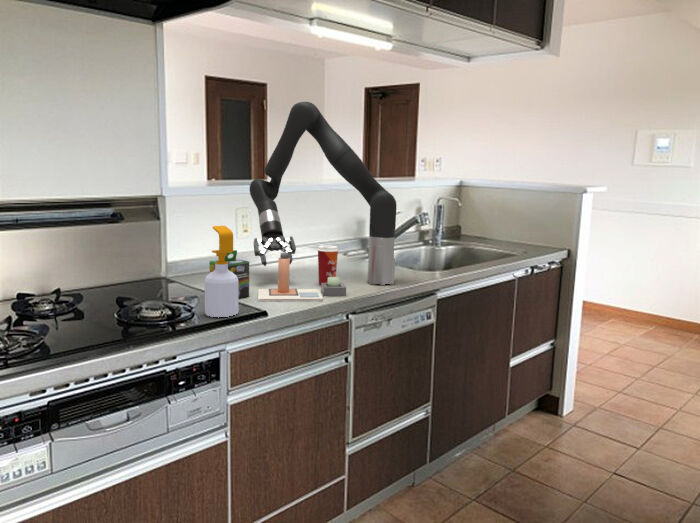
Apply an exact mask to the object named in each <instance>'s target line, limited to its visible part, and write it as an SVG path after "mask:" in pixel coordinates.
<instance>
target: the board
mask: <svg viewBox="0 0 700 523" xmlns="http://www.w3.org/2000/svg"><path fill="white" fill-rule="evenodd" d="M257 298H258V299H257V300H258V302H323V301H324V298H323V295H322V292H321V290H320V289H319V288H289V292H288V293H279V292H278V288H259V289H258V294H257Z"/></svg>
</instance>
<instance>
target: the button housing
mask: <svg viewBox="0 0 700 523" xmlns="http://www.w3.org/2000/svg"><path fill="white" fill-rule="evenodd" d="M320 293H321V295H322V294H323V295H322V297H323V296H346V297H347V287H346V284H345V283H344V282H340V287H328V283H321V286H320Z"/></svg>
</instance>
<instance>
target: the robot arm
mask: <svg viewBox="0 0 700 523" xmlns="http://www.w3.org/2000/svg"><path fill="white" fill-rule="evenodd" d="M328 122H329V121H327V120H326V118H325V117H324V116H323V114H322V112H321V111H320V109H319V108H318V107H317V106H316V105H315V103H312V102H310V101H300V102H297V103H295V104H293V106H292V107H291V108H290V111H289V114H288V117H287V120H286V124H285V127H284V129H283V131H282V133H281V136H280V139H279V140H278V143H277V144H276V147H275V148H274V150H273V152H272V154H271V156H270V157H269V159H268V161H267V163H266V165H265V168H264V170H263V172H264V174H265V175H266V176H267V177H268V178H270V181H268V180H264V179H262V178H254V179H253V180H252V181H251V182H250V184H249V195H250V197H251V199H252V201H253V203H254V205H255V207H256V209H257V214H258V222H259V230H260V235H261V239H258V238H257V237H255V238H254V239H253V251H254V253H253V254H254V256H255V257H260V261H261V264H262V265H263V266H264V267H266V266H267V262H268V261H267V256H266V254H267V253H268V252H273V251H274V252H275V251H277V252H278V251H281V253H288V258H290V265H292V263H293V260H294V259H293V255H295V254H296V250H297V246H296V243H295V240H294V238H293V236H289V237H287V238H286V237H285V236H284V232H283V227H282V222H281V218H280V215H279V211H278V207H277V203H276V202H275V199H277V197H278V196H279V193H280V192H279V191H280V187H281V183H282V178H283V176H284V174H285V172H286V170H287V169H288V168H289V166H290V163H291V161H292V159H293V155H294V152H295V149H296V147H297V145H298V143H299V141H300V139H301V138H302V136H303V135H304V134H305V132H307V133H308V134H309V135H310V136H311V137H312V138H313V139H314V140H315V141H316V142H317V144H318V145H319V147H320V148H321V150H322V152H323V154H324V157H325V158H326V159H327V161H328V162H329V164H330V165H331V166H332V168H333V169H334V170H335V171H336V172H337V173H338V175H340V176H341V177H342V178H343V179H344V180H345V181H346V182H347V183H348V184H350V185H351V186H352V187H354V188H355V189H356V190H357V191H358V192H359V193H360V195H361V196H362V197H363V199H364V200H365V201H366V203H367V204H368V206H369V208H370V209H369V228H368V230H369V235H368V236H369V237H368V256H367V258H368V259H367V263H368V264H367V283H368V282H369V283H371V284H370V285H374V284H380V285H379V286H386V285H385V284H390V285H394V284H395V270H396V258H395V257H394V256H395V237H396V225H397V224H396V222H397V200H396V198H395V197H394V195H392V194H391V193H390V192H389V191H388V190H386V189H385V188H384V186H382V185H381V184H380V183H379V181H377V179H375V177H373V175H372V174H371V172H370V171H369V169H368V167H367V166H366V165H365V163H364V161H363V160H362V159H361V158H360V157H359V155H358V154H357V153H356V152H355V151H354V150H353V149H352V148H351V146H350V145H349V144H348V143H347V142H346V141H345V139H344V138H342V137H341V136H340V135H339V134H338V133H337V132H336V131H335V130H334V129H333V128H332V126H331V125H330V123H328ZM286 243H287V244H288V245H289V246H288V245H287V244H286ZM261 244H262V246H263V248H262V249H261V250H259V249H260V247H259V246H261ZM369 283H368V284H369Z"/></svg>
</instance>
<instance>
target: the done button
mask: <svg viewBox="0 0 700 523" xmlns="http://www.w3.org/2000/svg"><path fill="white" fill-rule="evenodd" d="M340 283H341V278H340V276H339V277H338V276H336V277H328V287H340Z"/></svg>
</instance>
